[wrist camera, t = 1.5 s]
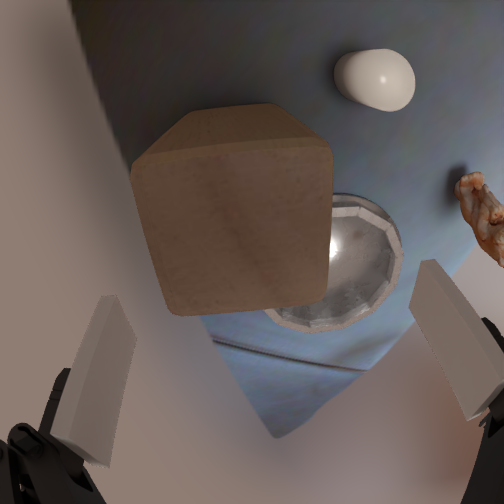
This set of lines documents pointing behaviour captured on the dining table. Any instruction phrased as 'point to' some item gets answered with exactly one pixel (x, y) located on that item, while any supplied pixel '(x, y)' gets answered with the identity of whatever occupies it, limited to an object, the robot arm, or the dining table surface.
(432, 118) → the dining table surface
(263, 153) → the block
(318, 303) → the metallic bowl
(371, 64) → the white domed cylinder
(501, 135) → the dining table surface
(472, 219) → the figurine
